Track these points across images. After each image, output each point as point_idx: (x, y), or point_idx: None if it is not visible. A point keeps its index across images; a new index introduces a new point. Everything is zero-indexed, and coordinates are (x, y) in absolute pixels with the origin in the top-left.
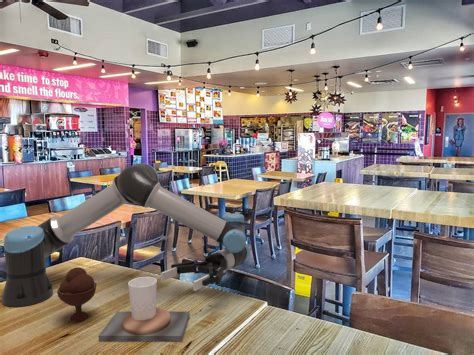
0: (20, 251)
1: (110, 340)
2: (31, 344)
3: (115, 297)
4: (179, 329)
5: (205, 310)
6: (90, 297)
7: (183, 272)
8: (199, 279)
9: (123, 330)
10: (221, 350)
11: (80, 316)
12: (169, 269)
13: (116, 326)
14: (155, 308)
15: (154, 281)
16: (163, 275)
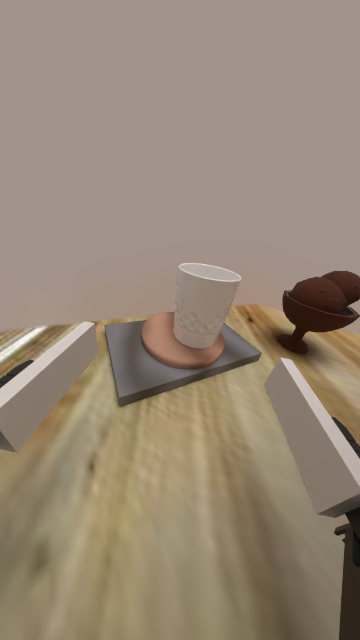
0: None
1: None
2: (254, 309)
3: None
4: (114, 335)
5: (68, 473)
6: (289, 314)
7: (347, 627)
8: (63, 343)
9: None
10: (27, 328)
11: (284, 337)
12: (327, 414)
13: None
14: (176, 325)
15: (200, 284)
16: (276, 369)
